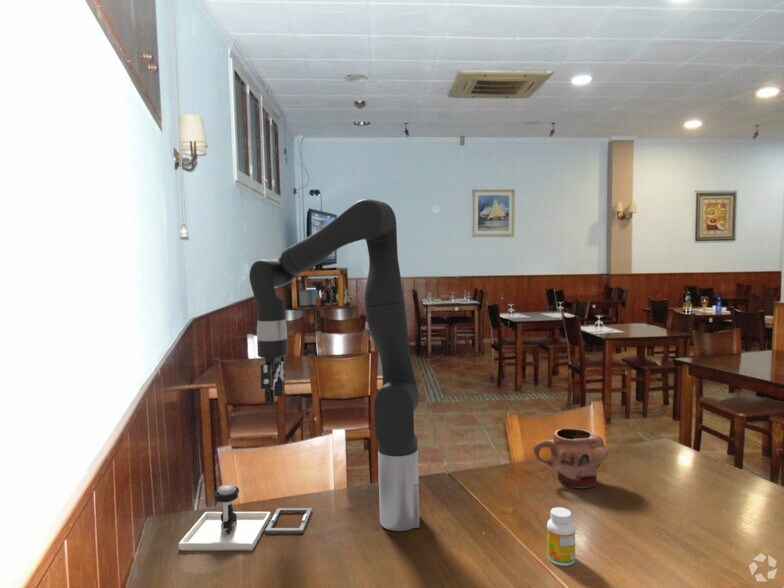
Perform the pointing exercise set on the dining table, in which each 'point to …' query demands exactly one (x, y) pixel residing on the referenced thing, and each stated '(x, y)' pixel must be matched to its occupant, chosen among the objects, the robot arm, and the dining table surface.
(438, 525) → the dining table surface
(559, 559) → the supplement bottle
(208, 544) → the tray
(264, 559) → the dining table surface
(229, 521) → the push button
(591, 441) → the sculpted ceramic mug
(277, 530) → the grey flat frame
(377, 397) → the robot arm
